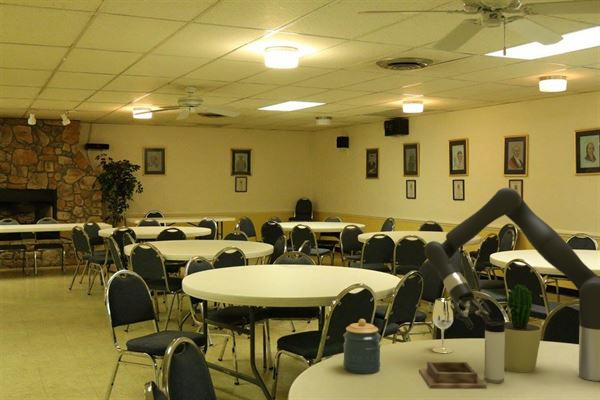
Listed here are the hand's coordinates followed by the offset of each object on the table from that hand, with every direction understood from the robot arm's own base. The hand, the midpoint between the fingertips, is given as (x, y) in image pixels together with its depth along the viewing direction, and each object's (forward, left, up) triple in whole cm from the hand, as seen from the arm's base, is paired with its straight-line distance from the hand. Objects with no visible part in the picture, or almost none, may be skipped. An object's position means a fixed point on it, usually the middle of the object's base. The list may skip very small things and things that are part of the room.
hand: (481, 326), depth 215 cm
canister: (+32, +25, -17) cm, 44 cm away
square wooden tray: (+4, +12, -16) cm, 21 cm away
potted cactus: (-4, -18, -17) cm, 25 cm away
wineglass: (+27, -17, -17) cm, 36 cm away
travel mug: (-6, +2, -17) cm, 18 cm away
